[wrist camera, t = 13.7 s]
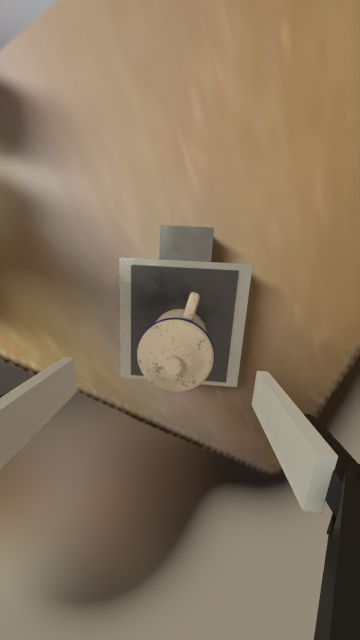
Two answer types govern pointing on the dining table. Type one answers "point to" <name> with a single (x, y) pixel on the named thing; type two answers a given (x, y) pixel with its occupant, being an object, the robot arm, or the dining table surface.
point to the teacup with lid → (177, 349)
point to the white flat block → (185, 298)
